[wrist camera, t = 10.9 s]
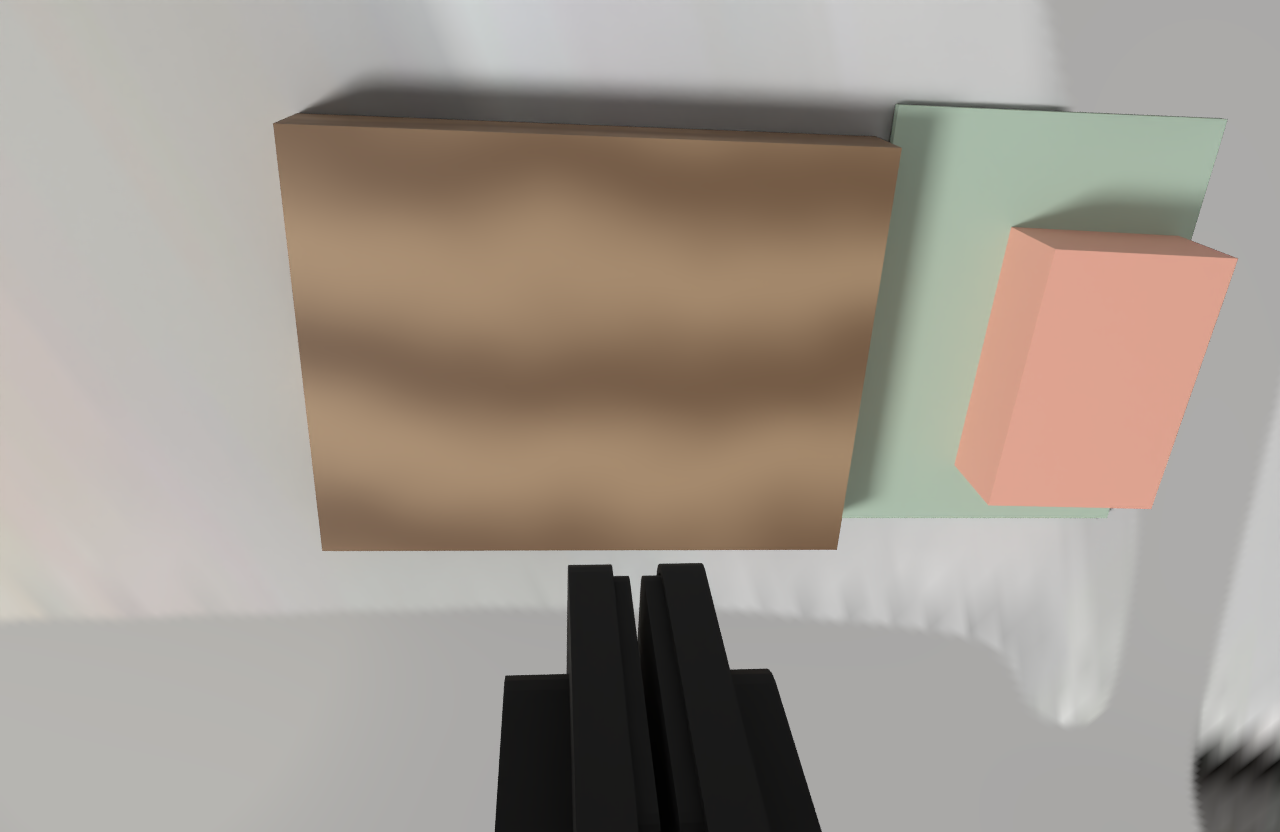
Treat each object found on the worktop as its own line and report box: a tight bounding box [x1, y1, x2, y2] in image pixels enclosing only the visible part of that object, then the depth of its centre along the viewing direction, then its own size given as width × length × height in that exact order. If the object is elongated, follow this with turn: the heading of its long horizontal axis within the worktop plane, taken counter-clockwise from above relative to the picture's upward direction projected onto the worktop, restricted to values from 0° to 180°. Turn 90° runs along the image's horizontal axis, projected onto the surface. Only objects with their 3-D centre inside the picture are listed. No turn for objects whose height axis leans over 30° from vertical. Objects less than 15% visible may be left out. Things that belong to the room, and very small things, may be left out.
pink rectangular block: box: [954, 227, 1238, 509], centre depth 31 cm, size 9×6×3 cm, turn 176°
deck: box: [273, 113, 902, 551], centre depth 30 cm, size 14×18×2 cm
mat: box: [842, 104, 1227, 518], centre depth 32 cm, size 15×11×1 cm
